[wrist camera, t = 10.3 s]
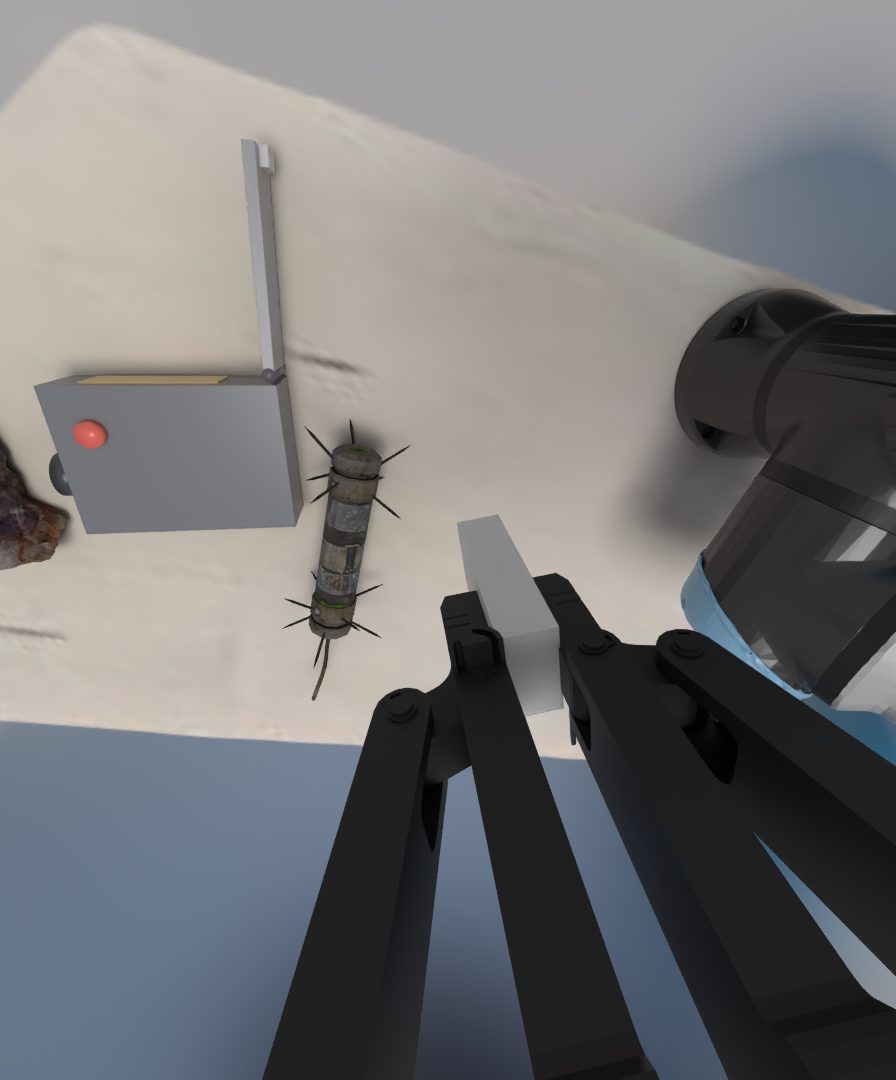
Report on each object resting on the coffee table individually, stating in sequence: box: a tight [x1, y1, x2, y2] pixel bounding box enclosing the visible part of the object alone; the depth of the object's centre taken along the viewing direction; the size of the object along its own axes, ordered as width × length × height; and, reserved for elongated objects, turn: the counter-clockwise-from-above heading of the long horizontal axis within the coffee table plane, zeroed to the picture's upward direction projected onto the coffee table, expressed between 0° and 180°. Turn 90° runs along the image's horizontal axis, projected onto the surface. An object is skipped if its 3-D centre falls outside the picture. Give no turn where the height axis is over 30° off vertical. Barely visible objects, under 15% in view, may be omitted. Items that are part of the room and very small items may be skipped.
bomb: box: [282, 420, 411, 700], centre depth 46 cm, size 11×10×30 cm
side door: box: [241, 139, 286, 382], centre depth 36 cm, size 15×2×5 cm, turn 176°
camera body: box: [34, 375, 303, 534], centre depth 40 cm, size 19×12×6 cm, turn 89°
